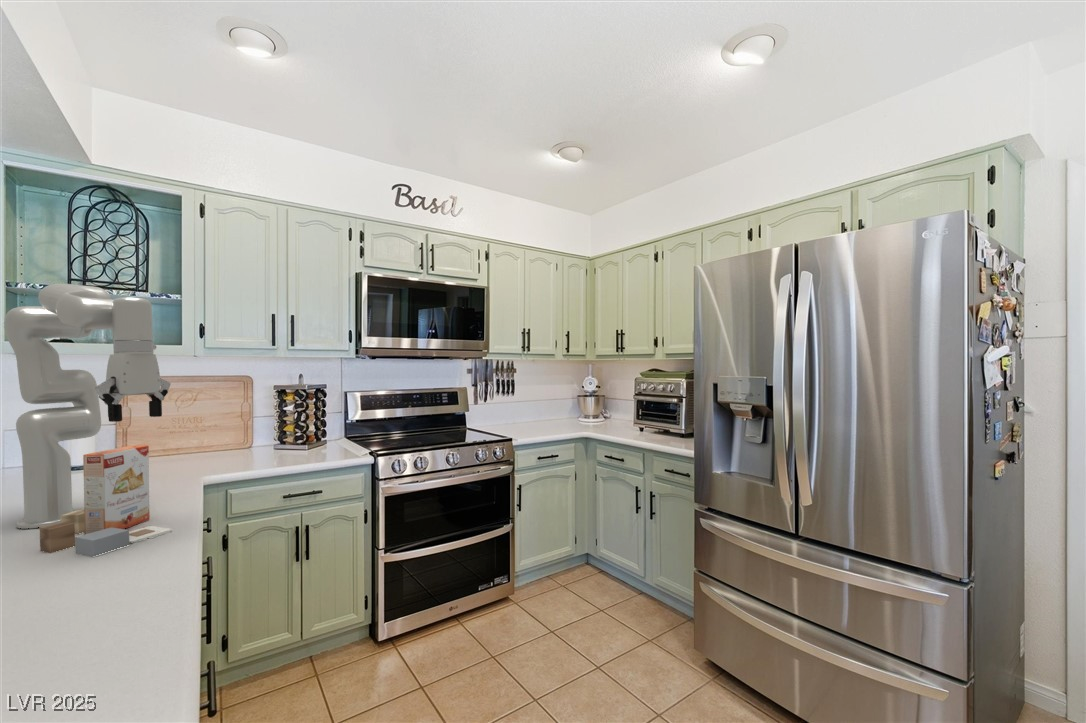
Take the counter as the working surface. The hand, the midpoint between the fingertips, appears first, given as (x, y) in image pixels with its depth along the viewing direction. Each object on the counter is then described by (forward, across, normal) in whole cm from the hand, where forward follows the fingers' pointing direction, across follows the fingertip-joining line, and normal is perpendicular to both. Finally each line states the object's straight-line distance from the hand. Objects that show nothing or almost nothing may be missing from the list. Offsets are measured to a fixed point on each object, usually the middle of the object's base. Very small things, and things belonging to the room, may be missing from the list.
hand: (136, 418), depth 121 cm
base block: (+30, +6, -3) cm, 31 cm away
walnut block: (+30, +7, -15) cm, 34 cm away
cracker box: (+30, -7, -16) cm, 34 cm away
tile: (+30, -3, -3) cm, 30 cm away
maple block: (+30, -4, -24) cm, 39 cm away
